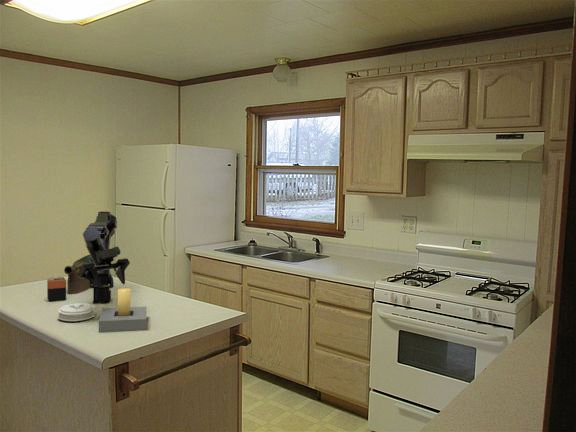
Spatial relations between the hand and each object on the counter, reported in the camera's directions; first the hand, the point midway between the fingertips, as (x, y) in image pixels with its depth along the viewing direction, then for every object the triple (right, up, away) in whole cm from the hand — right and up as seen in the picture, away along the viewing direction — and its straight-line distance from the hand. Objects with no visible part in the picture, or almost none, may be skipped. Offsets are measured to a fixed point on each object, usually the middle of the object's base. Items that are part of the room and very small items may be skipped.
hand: (113, 285), depth 184 cm
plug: (+5, -13, -3) cm, 14 cm away
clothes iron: (-32, -8, +40) cm, 52 cm away
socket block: (+5, -14, -3) cm, 15 cm away
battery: (-33, -10, +24) cm, 42 cm away
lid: (-15, -13, +2) cm, 20 cm away
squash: (-33, -7, +56) cm, 66 cm away
